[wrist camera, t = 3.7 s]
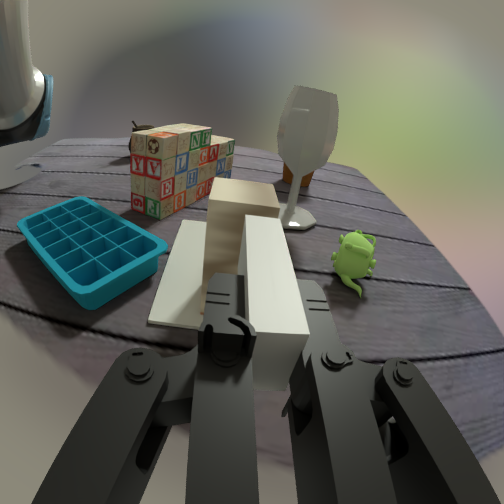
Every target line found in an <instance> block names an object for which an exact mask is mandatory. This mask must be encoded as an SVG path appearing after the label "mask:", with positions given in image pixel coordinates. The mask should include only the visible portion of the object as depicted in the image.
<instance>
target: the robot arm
mask: <svg viewBox="0 0 504 504" xmlns="http://www.w3.org/2000/svg"><path fill="white" fill-rule="evenodd" d="M52 94H53V77H52V76H51V75H46V74H43V75H42V74H41V72H40V71H39V70H38V69H37V68H36V67H35V66H33V65H32V59H31V50H30V37H29V19H28V0H0V147H1V146H6V145H10V144H14V143H19V142H23V141H27V140H30V141H32V140H34V139H36V138H40V137H43V136H45V135H46V134H47V133H48V131H49V126H50V114H51V106H52ZM326 301H327V300H326V297H325V294H324V292H323V290H322V289H321V287H320V286H319V285H318V284H317V283H316V282H315V281H311V280H299V279H296V277H295V273H294V269H293V265H292V261H291V257H290V254H289V250H288V246H287V243H286V239H285V235H284V232H283V228H282V224H281V221H280V219H277V218H269V217H261V216H253V215H245V221H244V228H243V234H242V241H241V248H240V255H239V261H238V275H236V274H226V273H216V272H215V274H214V275H213V276H212V277H211V278H210V279H209V281H208V286H207V294H206V301H205V308H204V316H203V322H202V323H201V325H200V328H199V330H198V344H197V345H196V347H195V348H193V349H192V350H191V351H189V352H187V353H185V354H182V355H178V356H173V357H165V358H162V357H161V356H160V354H158V353H156V352H154V351H153V350H151V349H145V348H134V349H130V350H128V351H125V352H123V353H122V354H121V355H120V356H119V357H118V358H117V359H116V360H115V362H114V363H113V365H112V366H111V368H110V369H109V371H108V372H107V374H106V375H105V377H104V379H103V380H102V382H101V383H100V385H99V386H98V388H97V389H96V391H95V393H94V394H93V396H92V397H91V399H90V401H89V402H88V404H87V406H86V407H85V409H84V410H83V412H82V414H81V416H80V417H79V419H78V421H77V422H76V424H75V425H74V427H73V429H72V430H71V432H70V434H69V436H68V437H67V439H66V441H65V442H64V444H63V446H62V448H61V450H60V451H59V453H58V455H57V456H56V458H55V460H54V462H53V464H52V465H51V467H50V469H49V471H48V473H47V475H46V477H45V479H44V480H43V482H42V484H41V486H40V488H39V490H38V492H37V494H36V496H35V498H34V500H33V501H32V504H139V503H140V501H141V498H142V496H143V494H144V491H145V489H146V486H147V484H148V482H149V479H150V477H151V474H152V472H153V470H154V468H155V465H156V463H157V460H158V458H159V456H160V453H161V451H162V449H163V446H164V444H165V442H166V439H167V437H168V435H169V432H170V430H171V428H172V425H178V424H184V423H189V422H191V424H190V436H189V449H188V450H189V451H188V464H187V481H186V499H185V504H259V492H258V473H257V454H256V435H255V415H254V395H253V390H275V391H285V390H286V388H287V385H288V383H289V384H290V391H291V395H290V397H289V399H288V401H287V403H286V405H285V407H284V408H283V410H282V416H281V417H285V416H286V414H287V412H288V418H289V426H290V435H291V443H292V452H293V461H294V470H295V479H296V489H297V498H298V504H501V503H500V501H499V499H498V497H497V495H496V493H495V492H494V489H493V488H492V486H491V484H490V482H489V480H488V478H487V476H486V475H485V473H484V471H483V469H482V468H481V466H480V464H479V462H478V461H477V459H476V457H475V456H474V454H473V452H472V451H471V449H470V447H469V446H468V444H467V442H466V441H465V439H464V437H463V436H462V434H461V433H460V431H459V429H458V428H457V426H456V425H455V423H454V422H453V420H452V418H451V417H450V415H449V414H448V412H447V411H446V409H445V408H444V406H443V405H442V403H441V402H440V400H439V399H438V397H437V396H436V394H435V393H434V391H433V390H432V388H431V387H430V386H429V384H428V383H427V381H426V380H425V378H424V377H423V376H422V374H421V373H420V371H419V370H418V369H417V367H416V366H415V365H414V364H413V363H411V362H410V361H408V360H406V359H403V358H399V357H398V358H391V359H390V360H388V361H386V363H385V364H384V365H383V367H381V366H377V365H373V364H369V363H365V362H362V361H359V360H357V359H356V357H355V355H354V353H353V352H352V351H351V350H350V349H349V348H348V347H347V346H345V345H343V344H341V342H340V339H339V336H338V333H337V330H336V327H335V324H334V321H333V318H332V315H331V312H330V311H329V310H330V309H329V306H328V303H326ZM392 416H393V417H394V419H395V420H394V419H393V418H392Z"/></svg>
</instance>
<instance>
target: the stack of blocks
mask: <svg viewBox="0 0 504 504" xmlns="http://www.w3.org/2000/svg"><path fill="white" fill-rule="evenodd" d="M234 144H235V140H234V139H230V138H226V137H219V136H214V135H212V128H210V127H203V126H195V125H190V124H176V125H168V126H163V127H159V128H153V129H148V130H142V131H137V132H133V133H132V138H131V154H130V172H131V209H132V210H135V211H138V212H140V213H143V214H146V215H149V216H151V217H154V218H156V219H159V220H161V219H163V218H165V217H167V216H169V215H170V214H172V213H175V212H177V211H179V210H180V209H182V208H184V207H186V206H188V205H190V204H192V203H194V202H195V201H196V200H198V199H200V198H202V197H204V196H205V195H207V194H209V193H210V192H211V189H212V185H213V181H214V178H215V177H218V178H227V179H230V177H231V169H232V163H233V151H234Z"/></svg>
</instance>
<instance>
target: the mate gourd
mask: <svg viewBox="0 0 504 504" xmlns="http://www.w3.org/2000/svg"><path fill="white" fill-rule="evenodd" d="M132 123H133V124H134V127H133V131H132V132H137V131H142V130H148V129H153V128H154V126H152V125H138V126H137V125H136V124H135V123H134V121H132ZM131 138H132V136H131ZM129 150H130V153H131V139H130V142H129Z"/></svg>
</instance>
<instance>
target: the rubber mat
mask: <svg viewBox="0 0 504 504" xmlns="http://www.w3.org/2000/svg"><path fill="white" fill-rule="evenodd" d="M206 223H207V222H200V221H191V220H183V221H182V224H181V226H180V229H179V231H178V234H177V237H176V239H175V242H174V245H173V247H172V250H171V253H170V256H169V258H168V261H167V264H166V267H165V270H164V273H163V276H162V278H161V281H160V284H159V287H158V290H157V293H156V296H155V299H154V303H153V306H152V309H151V312H150V315H149V318H148V323H152V324H159V325H166V326H173V327H181V328H189V329H198V330H199V328H200V325H201V323H202V322H203V316H204V315H201V314H200V308H201V290H202V275H203V260H204V247H205V235H206Z"/></svg>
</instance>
